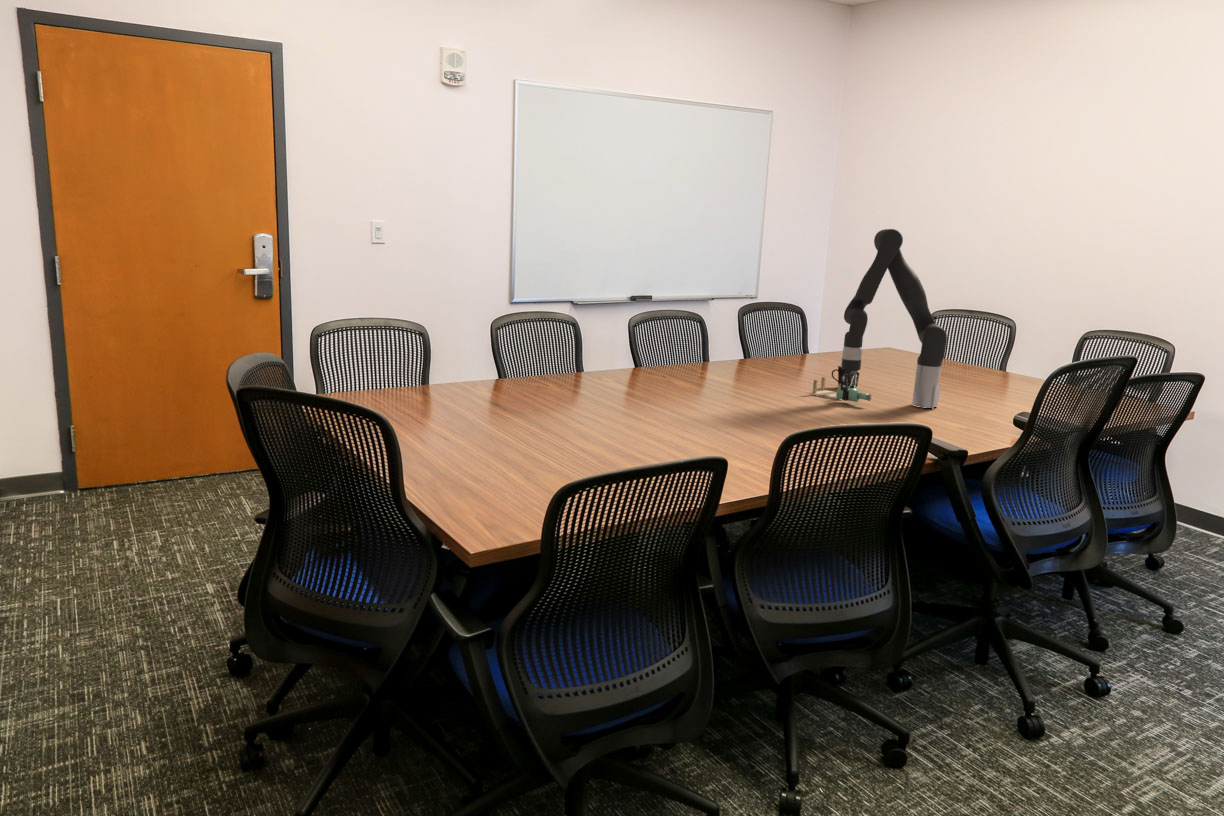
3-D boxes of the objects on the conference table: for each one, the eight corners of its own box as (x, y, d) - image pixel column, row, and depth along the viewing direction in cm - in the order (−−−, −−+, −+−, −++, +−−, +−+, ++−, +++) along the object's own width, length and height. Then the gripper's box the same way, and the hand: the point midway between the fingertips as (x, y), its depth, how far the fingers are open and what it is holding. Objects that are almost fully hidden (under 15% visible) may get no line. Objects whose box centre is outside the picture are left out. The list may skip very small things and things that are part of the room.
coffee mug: (854, 387, 384) (856, 365, 382) (857, 391, 376) (860, 368, 374) (827, 385, 385) (829, 363, 383) (830, 389, 377) (832, 367, 375)
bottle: (872, 402, 349) (873, 389, 347) (867, 405, 345) (868, 392, 343) (841, 397, 356) (841, 384, 354) (836, 400, 352) (836, 387, 350)
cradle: (849, 396, 365) (851, 381, 363) (840, 400, 357) (842, 384, 356) (820, 391, 372) (822, 376, 371) (811, 395, 365) (812, 379, 363)
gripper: (854, 361, 340) (850, 403, 344) (867, 356, 351) (863, 397, 355) (835, 358, 344) (832, 400, 348) (849, 354, 355) (846, 394, 359)
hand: (848, 399), depth 351 cm, fingers closed on bottle, 5 cm apart
